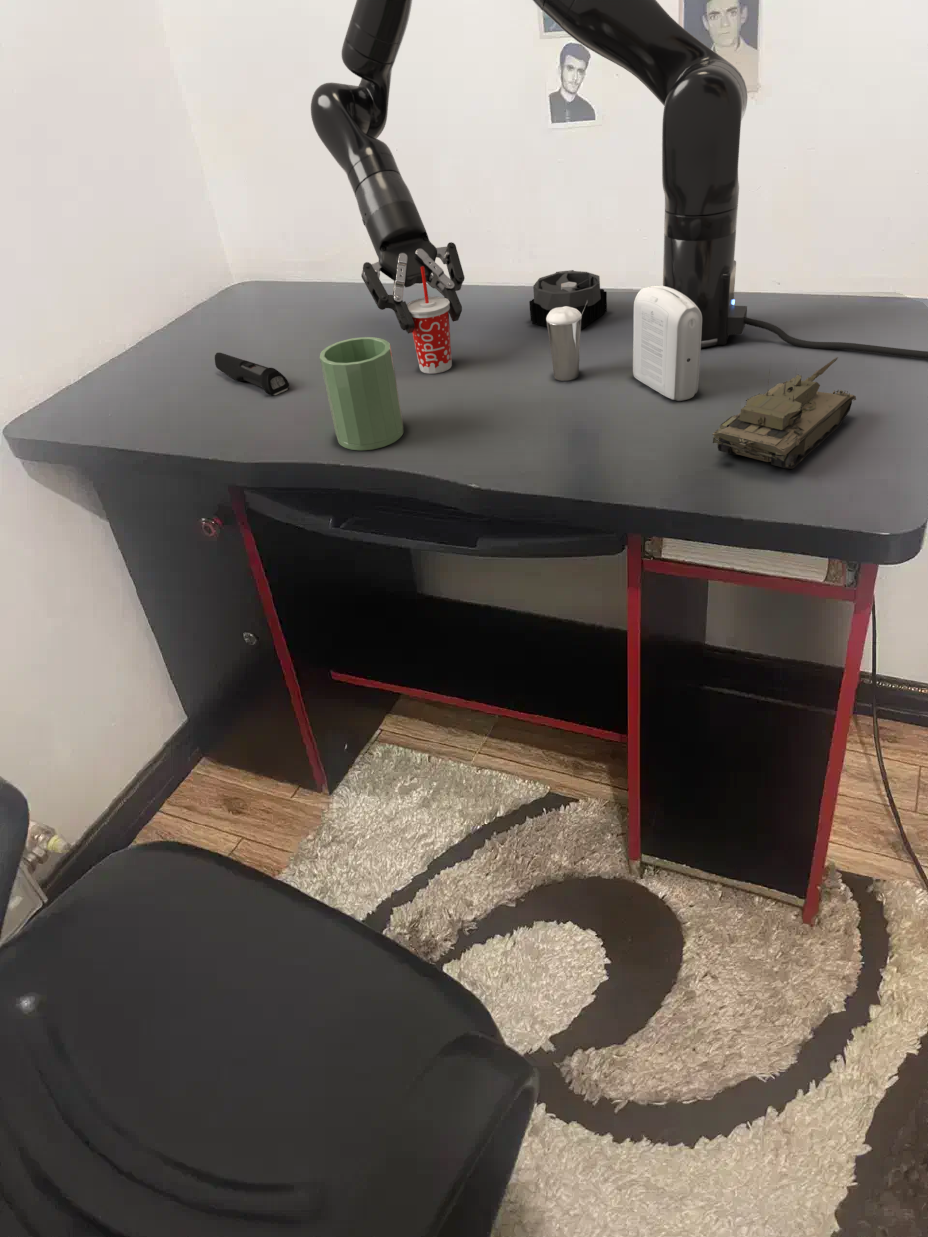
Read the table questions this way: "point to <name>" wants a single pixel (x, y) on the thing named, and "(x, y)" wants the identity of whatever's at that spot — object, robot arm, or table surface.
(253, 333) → the table surface
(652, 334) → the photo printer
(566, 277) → the cpu cooler
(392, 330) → the table surface
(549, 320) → the milkshake
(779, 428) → the tank
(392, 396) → the pen pot
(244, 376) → the electric trimmer
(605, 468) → the table surface
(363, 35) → the robot arm
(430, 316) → the beverage cup
